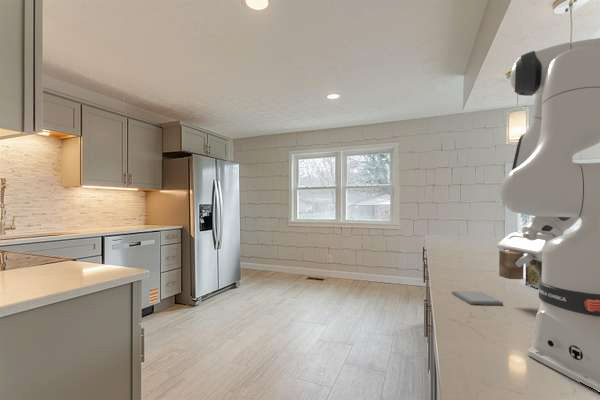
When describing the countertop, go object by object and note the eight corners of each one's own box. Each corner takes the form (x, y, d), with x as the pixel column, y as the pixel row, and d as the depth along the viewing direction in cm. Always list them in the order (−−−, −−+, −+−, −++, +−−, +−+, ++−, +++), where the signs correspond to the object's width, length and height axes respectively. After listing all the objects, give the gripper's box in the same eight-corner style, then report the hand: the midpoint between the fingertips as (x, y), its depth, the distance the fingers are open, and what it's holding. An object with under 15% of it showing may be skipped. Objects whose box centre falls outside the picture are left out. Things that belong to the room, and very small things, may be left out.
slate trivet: (502, 305, 91) (502, 302, 91) (470, 304, 91) (470, 301, 91) (480, 294, 102) (480, 291, 102) (451, 293, 102) (451, 290, 102)
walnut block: (523, 279, 92) (523, 253, 92) (508, 279, 92) (509, 252, 92) (512, 276, 96) (513, 251, 97) (498, 275, 96) (499, 250, 97)
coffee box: (561, 292, 107) (561, 247, 107) (543, 291, 107) (543, 246, 107) (541, 285, 116) (541, 243, 116) (524, 284, 116) (524, 243, 116)
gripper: (509, 224, 105) (482, 251, 105) (560, 228, 84) (526, 261, 84) (522, 237, 105) (494, 264, 104) (576, 244, 84) (542, 278, 84)
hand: (509, 263), depth 94 cm, fingers closed on walnut block, 4 cm apart
